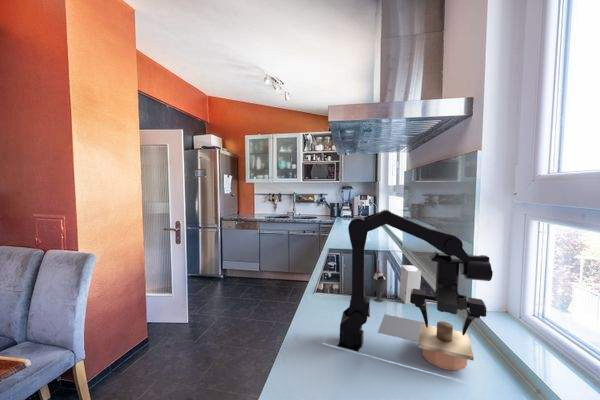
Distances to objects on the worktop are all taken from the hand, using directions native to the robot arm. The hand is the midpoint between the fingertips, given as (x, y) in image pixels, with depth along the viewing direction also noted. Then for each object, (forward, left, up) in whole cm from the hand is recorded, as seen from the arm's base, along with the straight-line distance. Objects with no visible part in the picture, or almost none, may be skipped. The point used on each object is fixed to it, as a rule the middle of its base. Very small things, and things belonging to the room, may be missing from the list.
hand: (444, 330), depth 80 cm
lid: (0, 0, -3) cm, 3 cm away
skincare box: (-12, +39, -8) cm, 42 cm away
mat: (-12, +13, -8) cm, 20 cm away
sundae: (-24, +33, -8) cm, 42 cm away
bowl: (0, 0, -8) cm, 8 cm away
